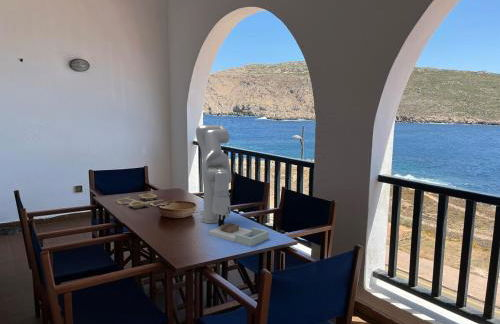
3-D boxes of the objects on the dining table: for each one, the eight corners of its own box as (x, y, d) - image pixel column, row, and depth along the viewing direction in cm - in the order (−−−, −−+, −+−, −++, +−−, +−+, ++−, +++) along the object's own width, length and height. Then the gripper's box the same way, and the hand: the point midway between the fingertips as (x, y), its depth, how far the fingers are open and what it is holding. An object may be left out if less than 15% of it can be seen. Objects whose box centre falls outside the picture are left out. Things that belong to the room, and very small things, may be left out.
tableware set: (112, 202, 270) (112, 196, 270) (150, 196, 290) (150, 191, 289) (134, 212, 245) (134, 206, 244) (173, 205, 264) (173, 199, 264)
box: (234, 241, 192) (235, 234, 191) (252, 234, 204) (253, 227, 203) (250, 246, 185) (251, 238, 185) (268, 238, 197) (268, 231, 197)
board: (208, 234, 202) (208, 230, 202) (228, 227, 215) (228, 224, 214) (234, 242, 191) (234, 238, 191) (253, 234, 204) (253, 230, 204)
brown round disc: (220, 230, 203) (220, 225, 202) (229, 227, 208) (229, 222, 208) (230, 233, 199) (230, 227, 198) (238, 230, 204) (239, 224, 204)
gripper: (207, 192, 206) (206, 225, 208) (227, 196, 197) (227, 230, 199) (216, 190, 212) (216, 222, 214) (236, 194, 203) (236, 227, 205)
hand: (221, 226), depth 207 cm, fingers closed
